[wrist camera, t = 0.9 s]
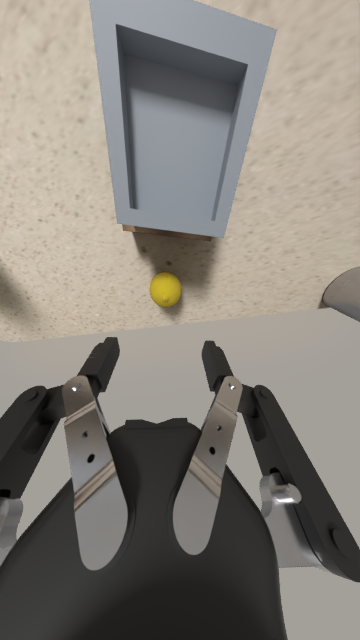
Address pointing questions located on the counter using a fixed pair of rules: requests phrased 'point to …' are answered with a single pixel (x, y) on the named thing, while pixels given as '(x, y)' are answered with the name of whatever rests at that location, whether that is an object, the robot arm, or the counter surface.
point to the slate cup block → (177, 108)
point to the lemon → (165, 289)
